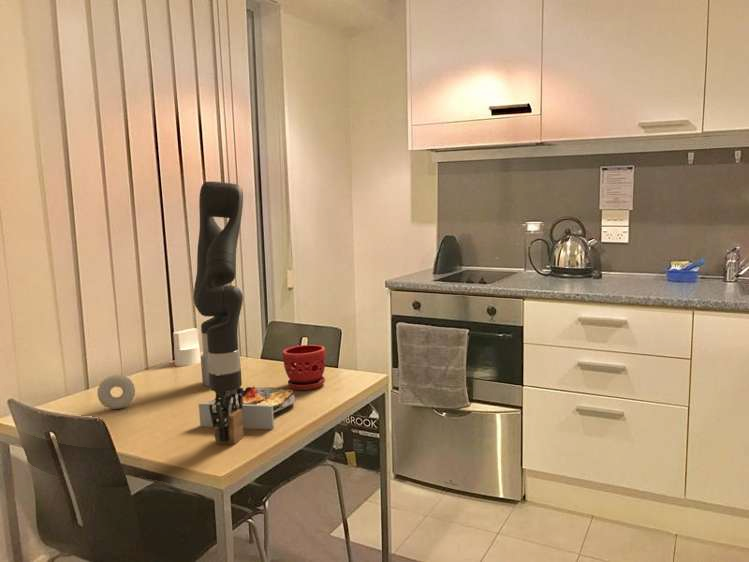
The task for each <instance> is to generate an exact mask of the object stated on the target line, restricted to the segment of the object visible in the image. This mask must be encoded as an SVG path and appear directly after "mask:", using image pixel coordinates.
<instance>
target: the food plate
mask: <svg viewBox="0 0 749 562" xmlns="http://www.w3.org/2000/svg"><path fill="white" fill-rule="evenodd" d="M296 402H297V398H296V395H295V393H293V390H292V389H283V388H279V387H256V386H254V385H253V386H252V387H251V386H249V387H248V386H247V387H246V388H245V389H243V404H251V405H256V404H257V403H260V404H258V405H273V414H274V413H277V412H279V411H282V410H283V409H285V408H287V407H289V406H291V405H293V404H294V403H296ZM207 403H215V398H214V399H211V400H209V401H208V402H207Z"/></svg>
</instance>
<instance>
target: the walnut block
mask: <svg viewBox="0 0 749 562" xmlns="http://www.w3.org/2000/svg"><path fill="white" fill-rule="evenodd" d="M226 412H227V411H222V413H226ZM223 418H224V420H225V417H224V416H223ZM216 421H217V419H216ZM213 428H214V439H215V444H218V445H220V444H222V445H236V444H237V443H239V441H241V439H243V438H244V428H243V420H242V409H238V410H232V409H231V416H229V417H228V430H229V440H228V441H227V442H223V441H220V440H219V427H213Z"/></svg>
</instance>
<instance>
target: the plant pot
mask: <svg viewBox="0 0 749 562" xmlns="http://www.w3.org/2000/svg"><path fill="white" fill-rule="evenodd" d="M282 360H283V367H284V371H285V373H286V375H287V377H288V381H287V384H288V386H289V387H290V388H292V389H294V390H300V391H301V390H302V391H304V390H305V391H306V390H313V389H317V388H320V387H321V386H322V385H324V384H325V381H326V378H325V376H324V372H325V369H326V348H325V347H324V346H323V345H318V344H301V345H295V346H291V347H288V348H285V349H283V351H282Z"/></svg>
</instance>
